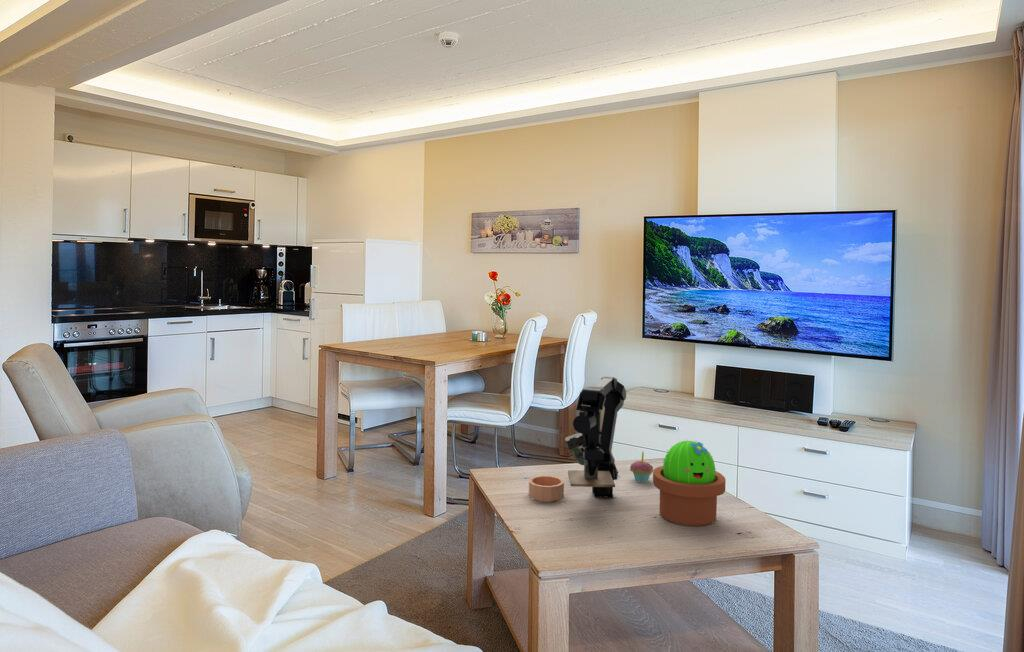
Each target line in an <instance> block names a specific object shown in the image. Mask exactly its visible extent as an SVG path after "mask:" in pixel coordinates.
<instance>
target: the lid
mask: <svg viewBox="0 0 1024 652" xmlns="http://www.w3.org/2000/svg"><path fill="white" fill-rule="evenodd" d="M583 470H584V471H583ZM583 470H582V469H581V470H576V469H575V470H570V469H569V470H567V474H568V479H569V480H568V481H569V484H570V485H569V486H570V487H577V488H578V487H579V488H580V487H583V488H584V487H586V488H587V487H588V488H590V487H591V488H592V487H613V488H615V487H616V483H615V480H614V481H613V479H612V476H611V474H610V472H609V471H598V466H597V468H596V471H595V473H594V475H593V476H590V474H589V468H588V462H587V460H584V465H583Z"/></svg>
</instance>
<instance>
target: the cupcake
mask: <svg viewBox="0 0 1024 652" xmlns="http://www.w3.org/2000/svg"><path fill="white" fill-rule="evenodd" d="M644 453H645V452H644V451H642V452H641V460H638V461H635V462H633V463H631V465H630V467H629V468H630V469H629V470H630V472H632V475H633V477H634V480H635V481H636V482H638V481H639V482H638V483H647V482H649V479H650V477H651V475H652V474H653V471H654V467H653V466H652V464H651V463H649V462H647V461H644Z"/></svg>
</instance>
